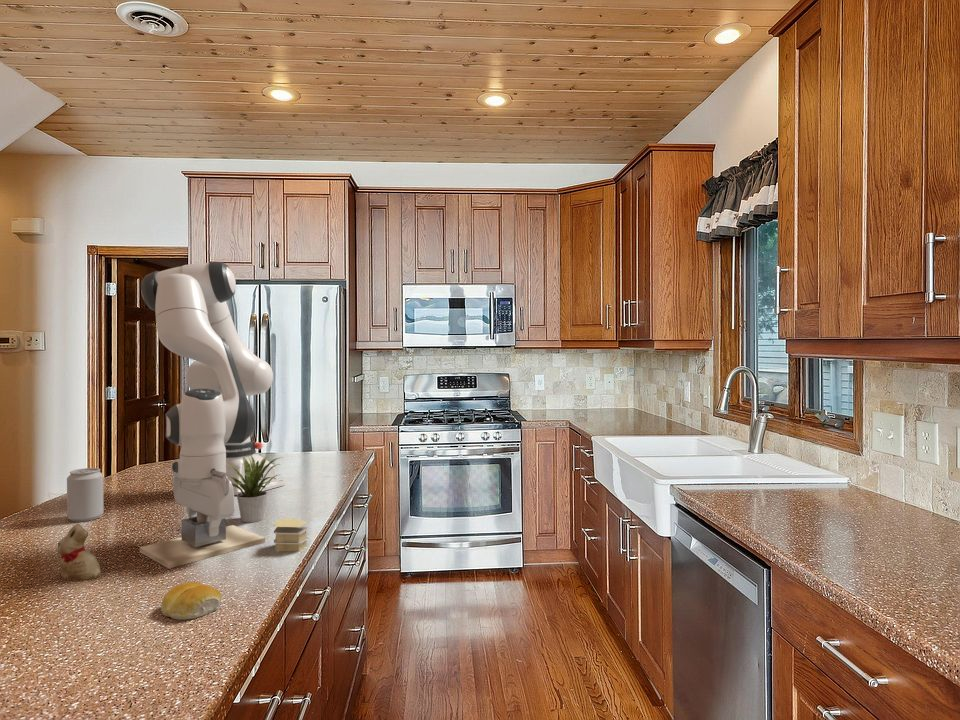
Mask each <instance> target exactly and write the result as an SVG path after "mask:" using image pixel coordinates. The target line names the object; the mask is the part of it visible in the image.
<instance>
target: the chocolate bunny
mask: <svg viewBox="0 0 960 720" xmlns="http://www.w3.org/2000/svg"><path fill="white" fill-rule="evenodd" d="M88 536H89V532H88V530H87V529H85V528H83V526H82V524H80V523H76V524H74V525H72V527H71V528H70V529H69V531H68V533H67V535H65V537H62V538H61V539H60V540H59V541H58V543H57V553H58V555H60V557H61V558H60V560H59V567H60V569H61V571H62V572H61V573H60V577H61V578H63V579H64V580H67V581H78V582H79V581H80V580H81V581H89V580H94V578H95V579H99V578H101V577H102V576H101V575H102V572H101V565H100V562H99V561H98V558H97V557H96V556H95V555H94V554H93V553H91V552H89V551H87V550H86V548H85V543H86V540H87V538H88Z"/></svg>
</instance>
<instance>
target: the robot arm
mask: <svg viewBox="0 0 960 720" xmlns="http://www.w3.org/2000/svg"><path fill="white" fill-rule="evenodd" d="M236 282H237V280H236V277H235V275H234V272H233V271H232V270H231V268H230V266H229V265H228V264H226V263H225V262H223V261H209V262H201V263H200V262H199V263H189V264H184V265H181V266H176V267H175V266H174V267H172V268H167V269H164V270H161V271H158V270H155V271H153V272H152V271H151V272H150V273H148V274H145V275H144V278H143V279H142V280H141V282H140V290H141V291H140V292H141V296H142V299H143V301H144V303H145V305H146V306H147V307H148V309H150V310H152V311H153V312H155V323H156V330H157V331H156V332H157V337H158V339H159V341H160V342H161V344H162V345H163V347H165V348H166V349H167V350H169V351H170V352H171V353H173V354H176V355H177V356H179V357H183V358H186V359H189V360H194V361H192V362H191V363H190V364H189V366H188V368H187V370H186V373H185V381H186V384H187V387H188V388H189V390H186V391H185V392H184V393H183V394H182V396H181V402H180V403H178V404H174V405H173V406H171V408H169V409H168V411H166V413H165V416H164V418H165V435H164V436H165V438H166V439H167V441H169V442H170V443H172V444H173V445H175V446H180V447H181V448H180V452H179V458H178V459H176V460H174V461H172V462H171V464H170V470H171V472H172V473H173V476H172V487H173V489H172V490H173V497H174V500H175V503H176V504H178V505H180V506H182V507H184V508H186V514H187V517H188V518H191V517H196V516H197V512H200V513H202V514H205V515H208V516H209V521H210V523H209V527H207V535H209V536H211V537H213V536H217V535H218V533H219V525H220V522H221V520H222V519H224V518H225V519H227V518H232V517H233V516H234V513H235V511H236V508H235V507H236V506H235V504H236V503H235V496H237V495H238V494H239V493H242V492H241V491H240V490H239V489H238V488H237V487H235V486H233V485H232V483H234V484H237V483H236V482H235V481H234V480H233V479H232V478H231V477H234V478H236V479H238V480H239V481H241V482H242V483H243V484H245V483H244V482H243V480H242V479H241V478H240V476H239V475H238V474H237V472H236V471H235V470H234V469H233V468H232V467H231V466H233V467H234V468H236V469H237V470H238V471H239V473H240V474H241V475H242V476H243V477H244V479H245V470H244V462H243V457H244V458H245V459H246V460H247V462H248V463H249V464H250V460H251V463H252V459H251V457H250V454H251V455H252V457H253V459H254V460H255V465H256V462H257V461H259V465H260V463H261V461H262V460H263V458H264V457H263V456H261V455H260V454H259V453H257V451H256V449H257V450H262V449H263V447H264V444H263V443H262V442H259V441H257V442H256V441H255V442H254V441H252V440H251V435H252V434H254V431H255V429H256V418H255V414H254V411H253V410H254V409H253V407H252V405H251V403H250V401H249V400H248V397H249V396H257V395H261V394H265V393H267V392H268V391H269V390H270V388H271V387H272V385H273V382H274V373H273V369H272V367H271V365H270V364H269V363H268V362H267V361H265V360H263V359H261V358H260V357H259V356H257V355H255V354H254V353H253V352H252V351H251V350H250V349H249V348H248V346H247V345H246V344H245V342H243V340H242V339H241V337H240V335H239V334H238V330H237V328H236V326H235V323H234V321H233V317H232V315H231V312H230V308H229V306H228V304H227V301H229V300H231V299H232V298H233V296H234V295H235V294H236V286H237V285H236ZM249 453H250V454H249ZM247 455H248V456H249V458H250V460H249V458H248V456H247ZM266 460H267V459H266ZM269 462H270V461H269V460H267V461H266V462H265V464H264V466H263V468H264V467H265V466H266V465H267V464H268V463H269ZM226 463H227V464H226ZM228 464H229V465H231V466H229V465H228ZM274 465H275V464H270V465H269V466H268V467H267V469H266V470H265V471H264V473H263V475H262V476H261V478H260V480H259V483H260V482H261V481H262V480H263V478H264V476H265V475H266V473H267V472H268V470H269V469H270V468H271V467H272V466H274ZM250 466H251V464H250ZM263 468H262V469H263ZM251 471H252V469H251ZM276 475H277V470H276V466H274V467H273V468H272V469H271V470H270V471H269V472H268V474H267V475H266V476H265V478H267V477H274V476H276ZM274 478H276V479H277V480H276V479H274ZM274 478H273V479H272V480H271V481H270V483H269V484H268V485H266V486H265V488H266V489H265V488H263V487H261V489H262V488H263V490H262V491H267V490H268V491H269V490H271V489H275V488H279V487H283V486H285V480H283V479H281V478H279V477H278V476H276V477H274ZM270 479H271V478H269V479H267V480H265V481H264V482H268V481H269V480H270ZM264 482H263V483H264ZM259 483H258V485H259ZM265 484H266V483H264V484H263V485H262V486H264V485H265ZM238 486H239V487H240V485H238ZM240 488H241V487H240ZM241 489H242V488H241ZM261 489H260V490H261ZM242 490H243V489H242ZM260 490H259V491H260ZM243 492H245V491H244V490H243Z"/></svg>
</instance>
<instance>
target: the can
mask: <svg viewBox="0 0 960 720" xmlns="http://www.w3.org/2000/svg"><path fill="white" fill-rule="evenodd" d="M69 474H70V475H68V476H67V477H66V508H67V509H66V515H67V516H66V518H67V519H69V520H70V521H72V522H76V523H81V522H88V521H94V520H97V519H99V518H100V517H101V516H103V514H104V474H103V473H102V472H101V468H98V467H86V468H77V469H73V470H71V471H70V472H69Z"/></svg>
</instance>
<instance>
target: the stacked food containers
mask: <svg viewBox="0 0 960 720" xmlns="http://www.w3.org/2000/svg"><path fill="white" fill-rule="evenodd" d="M306 524H308V521H307V520H306V521H305V520H302V519H301V520H300V519H295V518H283V519H278V520H277V521H276V522H275V523H274V524H273V526H274V527H276V528H275V529H274V530H273V534H275V539H273V544H275V551H276V552H284V551H289V552H300V551H302V550H303V549H304V548H306V547H307V540H309V536H307V530H309V527H307V526H304V525H306Z"/></svg>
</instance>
